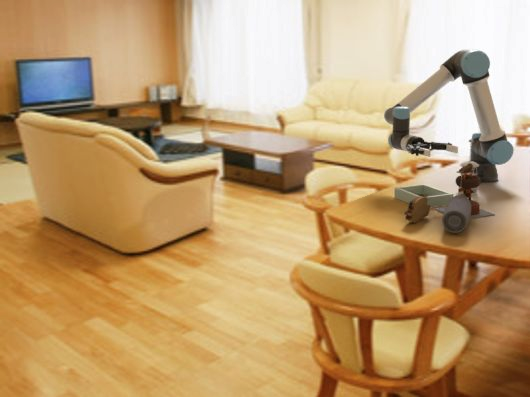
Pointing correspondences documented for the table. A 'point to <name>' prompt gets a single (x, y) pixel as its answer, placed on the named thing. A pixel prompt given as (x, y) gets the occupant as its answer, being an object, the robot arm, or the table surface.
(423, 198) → the wooden carving
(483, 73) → the robot arm
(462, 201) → the bluetooth speaker
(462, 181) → the dark brown irregular piece
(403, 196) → the storage box
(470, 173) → the french press
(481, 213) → the slate mat
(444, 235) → the table surface
